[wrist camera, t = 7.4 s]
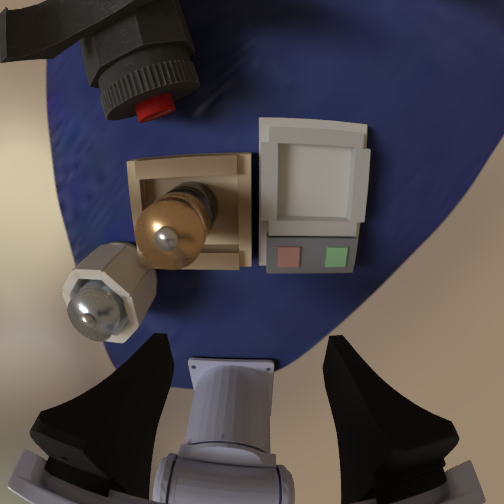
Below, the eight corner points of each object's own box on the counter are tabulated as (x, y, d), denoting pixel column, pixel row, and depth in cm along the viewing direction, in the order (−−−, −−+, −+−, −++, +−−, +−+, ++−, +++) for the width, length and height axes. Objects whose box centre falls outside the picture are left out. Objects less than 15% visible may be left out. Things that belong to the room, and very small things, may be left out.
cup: (162, 307, 23) (144, 346, 19) (103, 302, 23) (78, 336, 19) (151, 240, 21) (125, 270, 16) (87, 241, 21) (54, 268, 16)
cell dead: (144, 299, 22) (116, 347, 16) (107, 297, 22) (74, 341, 17) (136, 259, 21) (101, 302, 15) (97, 258, 21) (57, 298, 15)
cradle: (350, 259, 21) (360, 273, 19) (258, 259, 21) (258, 274, 19) (362, 124, 17) (375, 124, 15) (258, 118, 17) (259, 116, 15)
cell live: (218, 233, 20) (203, 275, 14) (168, 232, 20) (136, 271, 14) (217, 181, 18) (200, 203, 13) (165, 181, 18) (128, 204, 13)
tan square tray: (251, 255, 21) (251, 270, 19) (148, 255, 21) (137, 268, 19) (251, 152, 18) (250, 154, 16) (137, 158, 18) (123, 162, 16)
